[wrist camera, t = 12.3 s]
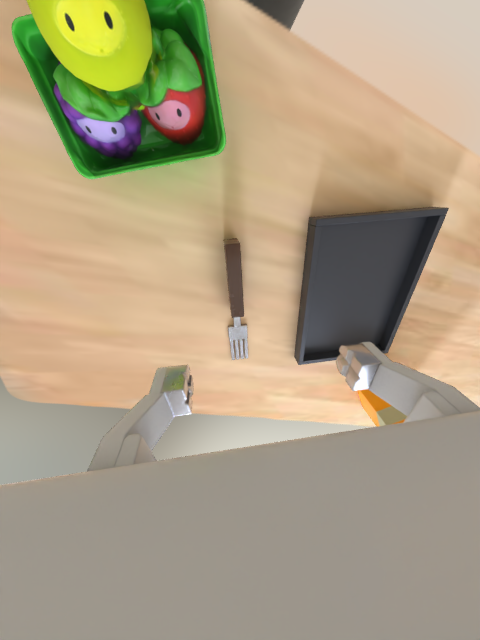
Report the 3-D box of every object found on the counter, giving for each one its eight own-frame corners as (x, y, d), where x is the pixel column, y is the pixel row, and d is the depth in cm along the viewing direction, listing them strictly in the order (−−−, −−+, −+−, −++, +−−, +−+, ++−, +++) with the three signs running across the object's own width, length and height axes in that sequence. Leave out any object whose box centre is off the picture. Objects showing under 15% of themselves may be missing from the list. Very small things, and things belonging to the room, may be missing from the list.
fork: (218, 240, 23) (219, 244, 21) (242, 238, 24) (245, 242, 21) (231, 358, 33) (232, 371, 31) (248, 356, 33) (251, 368, 31)
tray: (308, 217, 23) (316, 219, 22) (432, 206, 24) (449, 207, 23) (294, 356, 35) (298, 365, 33) (379, 345, 36) (387, 353, 34)
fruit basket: (110, 185, 20) (12, 175, 10) (48, 43, 15) (-246, -232, 5) (224, 162, 20) (236, 129, 10) (199, 13, 15) (178, -309, 5)
